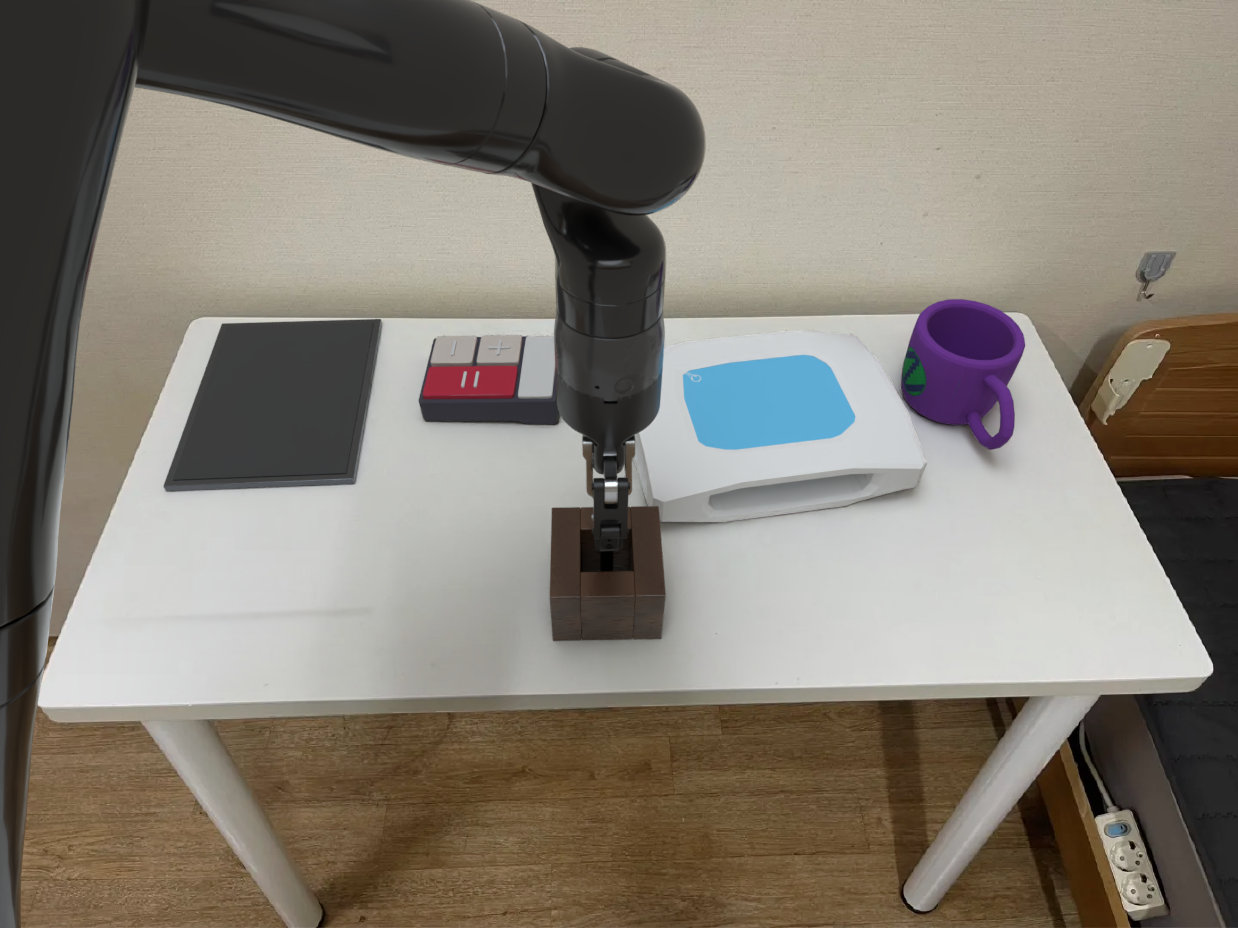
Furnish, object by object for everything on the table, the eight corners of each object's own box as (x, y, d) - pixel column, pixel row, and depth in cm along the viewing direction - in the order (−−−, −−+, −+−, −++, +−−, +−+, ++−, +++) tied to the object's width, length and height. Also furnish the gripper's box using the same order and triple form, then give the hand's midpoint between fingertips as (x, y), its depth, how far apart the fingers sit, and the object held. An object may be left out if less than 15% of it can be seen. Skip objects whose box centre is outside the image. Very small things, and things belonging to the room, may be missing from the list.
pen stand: (552, 641, 80) (549, 597, 74) (554, 552, 86) (551, 507, 81) (661, 639, 80) (665, 595, 75) (655, 551, 87) (658, 505, 81)
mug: (878, 370, 105) (900, 302, 97) (967, 359, 106) (995, 291, 99) (941, 480, 93) (971, 412, 86) (1040, 466, 95) (1077, 398, 88)
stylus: (603, 601, 83) (604, 506, 72) (597, 592, 83) (597, 496, 73) (614, 596, 83) (617, 501, 73) (609, 587, 84) (610, 491, 73)
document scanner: (917, 497, 92) (934, 456, 87) (652, 532, 88) (655, 492, 83) (846, 363, 106) (858, 321, 101) (615, 389, 102) (616, 347, 97)
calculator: (432, 331, 102) (562, 329, 102) (439, 359, 106) (565, 358, 105) (415, 397, 95) (555, 396, 94) (423, 425, 98) (558, 424, 98)
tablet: (354, 484, 92) (352, 478, 91) (165, 491, 90) (162, 485, 90) (382, 323, 109) (380, 317, 108) (223, 328, 108) (221, 322, 107)
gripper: (555, 294, 66) (562, 444, 78) (553, 432, 56) (561, 578, 69) (656, 293, 66) (647, 442, 78) (671, 430, 57) (658, 576, 69)
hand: (607, 505), depth 73 cm, fingers open, 8 cm apart
